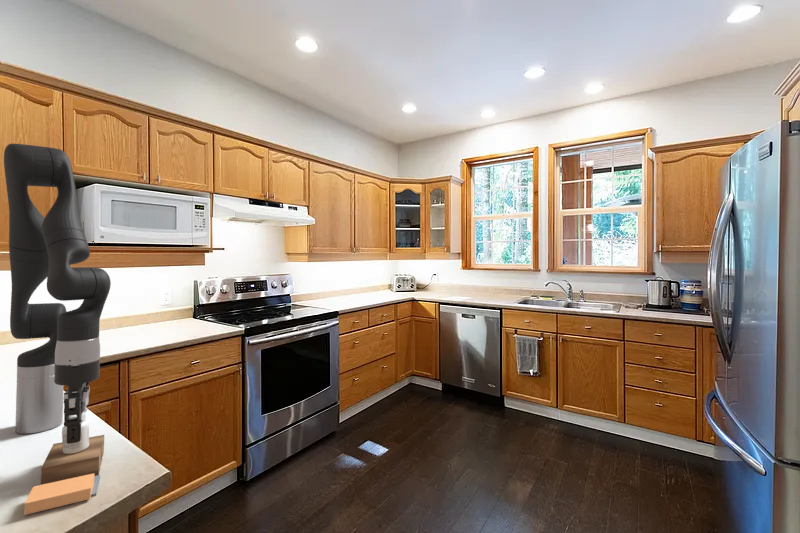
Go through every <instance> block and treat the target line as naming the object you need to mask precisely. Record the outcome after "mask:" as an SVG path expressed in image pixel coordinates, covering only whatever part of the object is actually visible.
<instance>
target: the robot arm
mask: <svg viewBox="0 0 800 533" xmlns="http://www.w3.org/2000/svg"><path fill="white" fill-rule="evenodd" d="M3 168H4V176H5V177H4V178H5V184H6V185H5V186H6V192H7V200H8V203H7V204H8V217H9V220H8V227H9V228H8V247H9V248H8V251H9V254H8V255H9V263H10V264H9V265H10V276H11V277H10V278H11V293H10V294H11V295H10V315H9V320H10V321H9V326H10V334H11V335H12V337H13V338H14V339H17V340H30V339H43V338H45V339H46V338H49V340H48V341H47V342H46V343H44V344H42V345H40V346H38V347H35V348H34V349H33V348H32V349H30V350H26V351H23V352H21V353H19V355H18V356H17V360H16V393H15V394H16V395H15V398H16V399H15V429H14V430H15V433H16V434H23V435H24V434H36V433H42V432H46V431H49V430H51V429H52V430H53V429H55V428H57V427H59V426H61V425H62V424H63V427H66V426H67V443H68V444H71V443H76V442H79V441H80V439H81V423H82V413H83V412H86V413H87V410H88V406H89V397H90V396H89V395H90V392H91V391H90V390H91V388H90V385H89V384H90V383H92V382H94V381H97V380H98V379H99V378H100V374H101V372H100V369H101V344H100V319H101V316H102V313H103V309H104V307H105V303H106V301H107V298H108V296H109V294H110V290H111V278H110V276H109V274H108V272H107V271H106V270H104V269H102V268H100V267H71V266H72V265H75V264H80V263H83V262H84V261H86V260H88V259H89V258H90V256H91V250H90V247H89V244H88V240H87V237H86V234H85V231H84V228H83V225H82V222H81V218H80V212H79V211H80V210H79V204H78V196H77V190H76V182H75V178H74V177H75V176H74V171H73V168H72V163H71V160H70V158H69V156H68V154H67V153H66V151H64V150H62V149H60V148H56V147H51V146H50V147H49V146H41V145H32V144H23V143H9V144H7V145H6V147H5V149H4V152H3ZM29 187H45V188H56V189H57V190H56V191H57V196H56V199H55V201H54V203H53V204H52V206H51V207H50V209H49V210H48V212H47V213H46V215H45V216H44V215H43V214H42V213H41V212H40V210H38V209H37V207H36V206H35V204H34V203H33V201H32V199H31V198H30V195H29V192H28V189H29ZM45 280H46V289H47V292H48V294H49V296H51V297H53V298H54V299H55V300H57V301H62V302H66V301H81V300H83V301H82V303H81V304H80V306H79V307H77V308H75V309H71V310H69V311H67V307H66V306H65V304H63V303H60V302H53V303H52V302H49V303H47V302H46V303H29V301H30V299H31V297H32V295H33V294H34V292H35V291H36V289H37V288H39V286H40V285H41V284H42V283H43V282H44V281H45ZM65 386H66V387H68V388H67V389H66V390H65V392H64V387H65ZM71 415H77V419H70V416H71ZM63 417H64V419H63ZM63 421H64V422H63ZM84 421H86V419H85V420H84Z"/></svg>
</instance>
